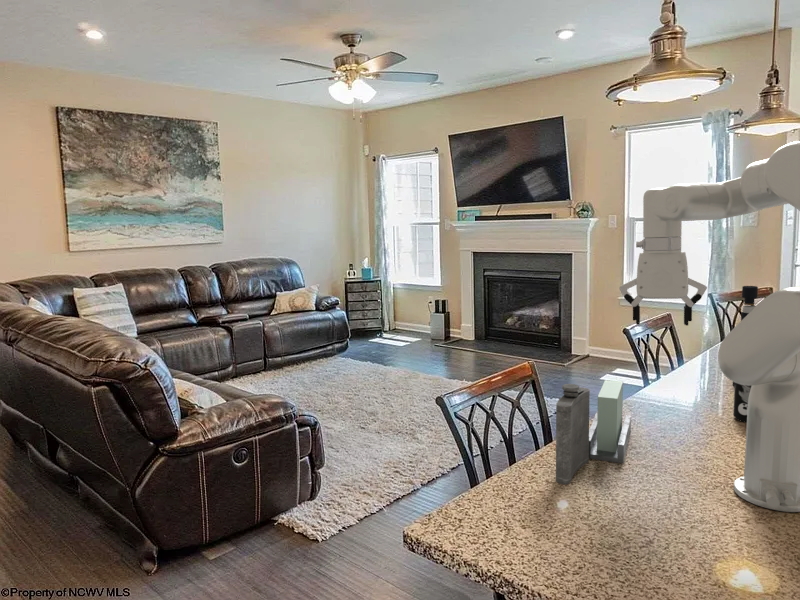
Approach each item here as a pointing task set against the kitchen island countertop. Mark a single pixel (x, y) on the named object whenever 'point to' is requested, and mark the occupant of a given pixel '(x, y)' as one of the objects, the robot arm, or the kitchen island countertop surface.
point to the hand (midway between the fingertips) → (661, 324)
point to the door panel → (609, 415)
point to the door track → (622, 443)
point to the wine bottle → (748, 301)
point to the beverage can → (741, 401)
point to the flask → (572, 432)
